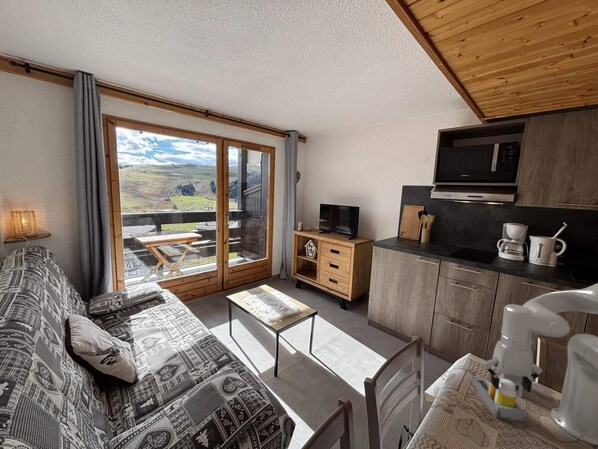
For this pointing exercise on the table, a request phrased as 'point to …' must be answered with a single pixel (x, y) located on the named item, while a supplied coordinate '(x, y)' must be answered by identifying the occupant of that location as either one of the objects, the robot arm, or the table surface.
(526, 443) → the table surface
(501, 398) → the supplement bottle
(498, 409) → the lane base
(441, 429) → the table surface
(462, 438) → the table surface
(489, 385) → the pusher
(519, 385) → the coffee box
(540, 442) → the table surface
